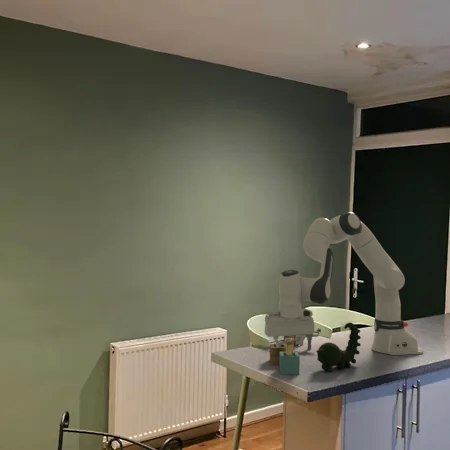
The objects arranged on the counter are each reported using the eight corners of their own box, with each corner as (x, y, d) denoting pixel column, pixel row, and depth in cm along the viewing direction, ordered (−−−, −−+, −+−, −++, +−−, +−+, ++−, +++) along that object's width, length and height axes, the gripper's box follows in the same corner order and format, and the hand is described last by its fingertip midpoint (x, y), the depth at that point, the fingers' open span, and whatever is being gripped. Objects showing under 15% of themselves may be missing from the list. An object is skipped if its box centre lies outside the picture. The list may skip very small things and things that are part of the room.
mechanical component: (320, 350, 245) (320, 329, 245) (298, 349, 247) (298, 327, 247) (320, 349, 248) (320, 327, 248) (298, 347, 250) (298, 326, 250)
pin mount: (286, 360, 230) (286, 343, 229) (288, 364, 222) (288, 348, 222) (269, 359, 230) (269, 343, 229) (270, 364, 222) (271, 347, 222)
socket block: (297, 368, 216) (297, 351, 216) (299, 374, 209) (299, 356, 209) (279, 368, 217) (279, 351, 216) (280, 374, 209) (281, 356, 209)
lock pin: (292, 369, 215) (292, 337, 215) (295, 372, 211) (296, 339, 211) (283, 370, 215) (283, 338, 214) (286, 373, 211) (286, 340, 210)
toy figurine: (346, 364, 229) (306, 369, 213) (349, 320, 230) (309, 322, 214) (364, 369, 222) (324, 375, 206) (367, 323, 222) (327, 326, 207)
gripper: (268, 314, 206) (267, 350, 207) (316, 311, 212) (316, 346, 213) (262, 311, 212) (262, 346, 213) (309, 309, 218) (309, 342, 219)
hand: (289, 346), depth 213 cm, fingers open, 8 cm apart
